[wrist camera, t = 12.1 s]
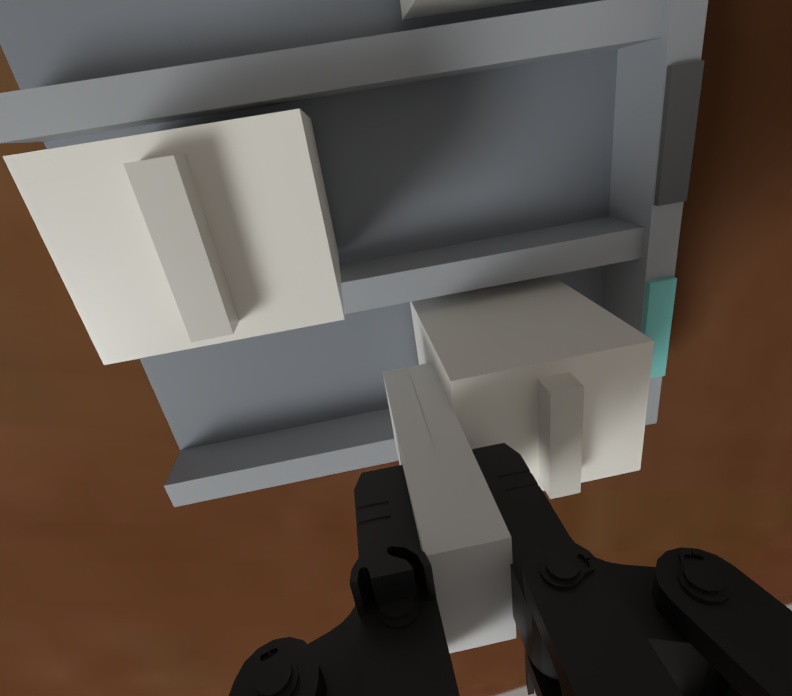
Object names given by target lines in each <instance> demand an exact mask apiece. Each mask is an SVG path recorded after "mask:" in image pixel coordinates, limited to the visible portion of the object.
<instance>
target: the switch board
mask: <svg viewBox="0 0 792 696" xmlns="http://www.w3.org/2000/svg"><path fill="white" fill-rule="evenodd" d="M707 7H708V0H531V1H524V2H518V3H511V4H505V5H498V6H492V7H485V8H479V9H472V10H465V11H459V12H452V13H446V14H439V15H433V16H426V17H420V18H413V19H406V20H402V13H401V5H400V0H0V45H1V47H2V49H3V52H4V54H5V56H6V58H7V61H8V63H9V65H10V67H11V70H12V72H13V74H14V77H15V79H16V81H17V83H18V86H19V88H20V90H18V91H11V92H5V93H0V143H23V142H44V144H45V146H46V149H52V148H58V147H65V146H71V145H77V144H83V143H89V142H95V141H102V140H108V139H114V138H120V137H126V136H133V135H139V134H145V133H151V132H157V131H164V130H170V129H176V128H182V127H188V126H195V125H201V124H207V123H213V122H219V121H225V120H232V119H238V118H244V117H250V116H256V115H263V114H269V113H275V112H281V111H287V110H294V109H301V110H302V111H303V112H304V113H305V114H306V115H308V116H309V117H310V118H311V122H312V127H313V132H314V137H315V142H316V146H317V151H318V156H319V161H320V166H321V171H322V176H323V180H324V185H325V190H326V195H327V200H328V205H329V210H330V214H331V219H332V224H333V229H334V234H335V239H336V244H337V248H338V254H339V265H340V276H341V287H342V297H343V308H344V319H345V320H340V321H335V322H329V323H324V324H319V325H313V326H308V327H303V328H297V329H292V330H287V331H282V332H276V333H271V334H266V335H260V336H255V337H250V338H245V339H239V340H234V341H229V342H223V343H218V344H213V345H208V346H202V347H197V348H192V349H186V350H181V351H176V352H170V353H165V354H160V355H155V356H149V357H144V358H140V360H141V363H142V365H143V367H144V369H145V372H146V374H147V376H148V378H149V381H150V383H151V385H152V387H153V390H154V392H155V394H156V397H157V399H158V401H159V403H160V406H161V408H162V410H163V412H164V415H165V417H166V419H167V421H168V424H169V426H170V428H171V430H172V433H173V435H174V437H175V439H176V442H177V444H178V446H179V448H180V452H179V454H178V456H177V459H176V461H175V463H174V465H173V467H172V469H171V472H170V474H169V476H168V478H167V480H166V482H165V485H164V487H165V489H166V491H167V493H168V495H169V498H170V500H171V502H172V504H173V506H174V507H177V506H182V505H187V504H192V503H196V502H201V501H206V500H211V499H216V498H221V497H225V496H230V495H235V494H240V493H245V492H249V491H254V490H259V489H264V488H269V487H273V486H278V485H283V484H288V483H293V482H297V481H302V480H307V479H312V478H317V477H321V476H326V475H331V474H336V473H341V472H345V471H350V470H355V469H360V468H365V467H370V466H374V465H379V464H384V463H389V462H394V461H398V460H399V459H398V454H397V449H396V444H395V439H394V433H393V428H392V422H391V416H390V411H389V405H388V400H387V394H386V388H385V383H384V377H383V372H384V371H389V370H394V369H400V368H405V367H410V366H415V365H419V361H418V354H417V347H416V340H415V333H414V327H413V320H412V313H411V306H410V302H412V301H417V300H423V299H428V298H433V297H439V296H444V295H449V294H454V293H460V292H465V291H470V290H476V289H481V288H486V287H492V286H497V285H502V284H508V283H513V282H518V281H523V280H529V279H534V278H539V277H545V276H550V275H552V276H554V277H555V278H557V279H558V280H560V281H561V282H563V283H565V284H566V285H568V286H569V287H571V288H572V289H574V290H576V291H577V292H579V293H580V294H582V295H583V296H585V297H586V298H588V299H590V300H591V301H593V302H594V303H596V304H597V305H599V306H601V307H602V308H604V309H605V310H607V311H608V312H610V313H612V314H613V315H615V316H616V317H618V318H619V319H621V320H623V321H624V322H626V323H627V324H629V325H630V326H632V327H634V328H635V329H637V330H638V331H640V332H641V333H643V334H645V335H646V336H648V337H649V338H651V339H652V340H654V348H653V357H652V366H651V375H650V385H649V394H648V403H647V412H646V421H645V425H649V424H653V423H657V414H658V406H659V398H660V390H661V382H662V376H665V371H666V363H667V356H668V348H669V340H670V332H671V324H672V316H673V308H674V300H675V292H676V284H677V278H676V277H674V276H675V268H676V260H677V251H678V243H679V235H680V227H681V219H682V211H683V202H684V201H687V196H688V188H689V180H690V172H691V165H692V157H693V149H694V141H695V133H696V125H697V117H698V109H699V101H700V93H701V85H702V77H703V69H704V61H705V60H701V56H702V48H703V39H704V31H705V23H706V15H707Z"/></svg>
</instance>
